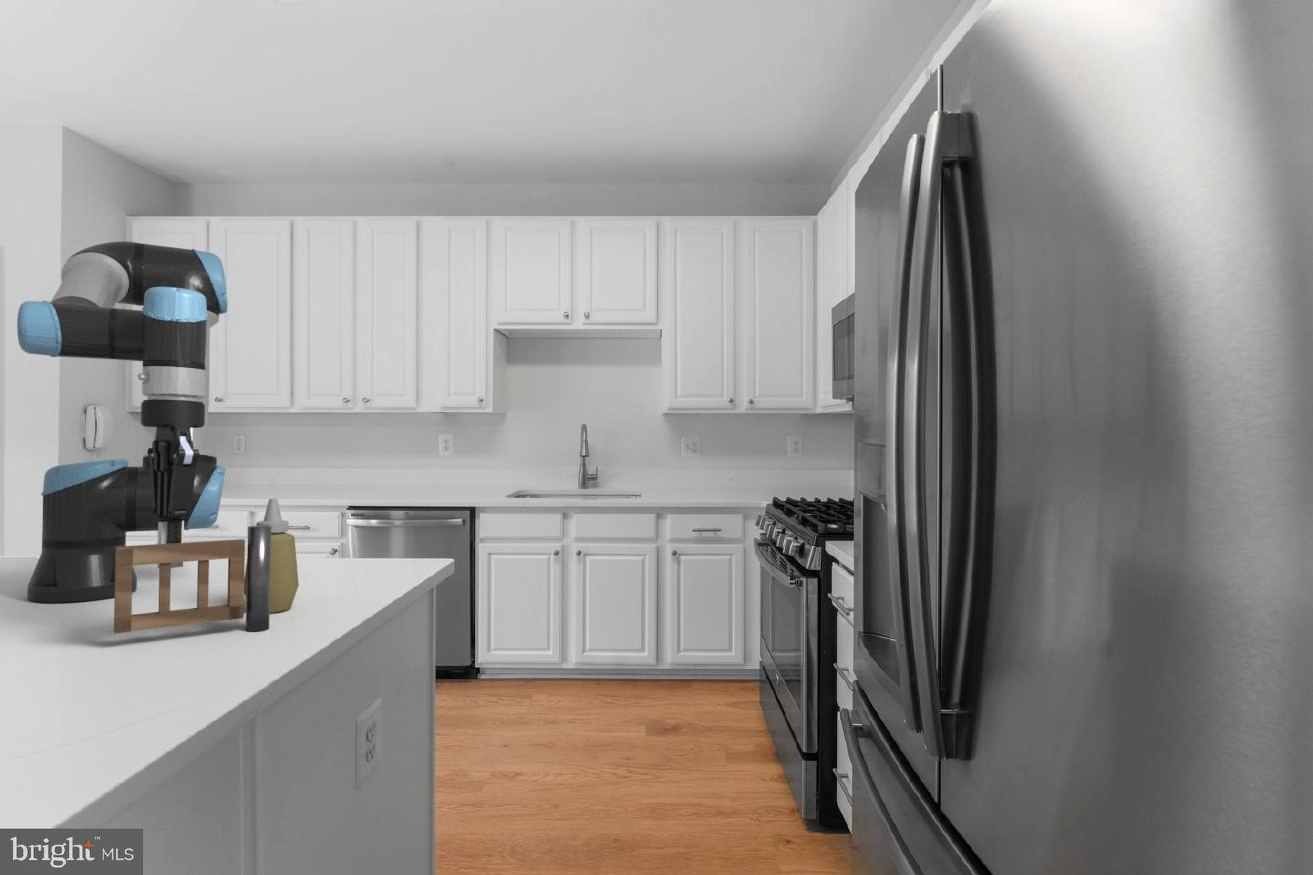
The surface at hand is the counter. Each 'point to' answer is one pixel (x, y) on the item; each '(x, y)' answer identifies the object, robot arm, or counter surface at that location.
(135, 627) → the gate
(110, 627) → the counter surface
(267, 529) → the gate post
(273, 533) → the squeeze bottle
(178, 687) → the counter surface
